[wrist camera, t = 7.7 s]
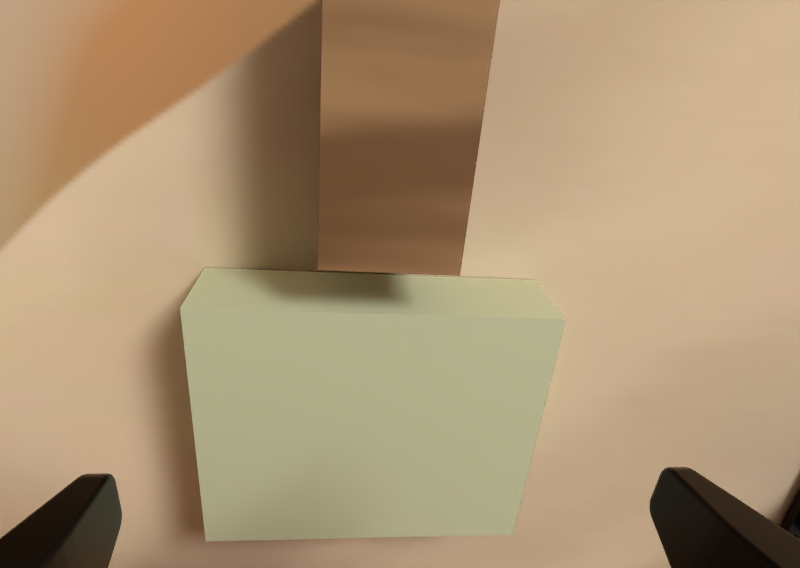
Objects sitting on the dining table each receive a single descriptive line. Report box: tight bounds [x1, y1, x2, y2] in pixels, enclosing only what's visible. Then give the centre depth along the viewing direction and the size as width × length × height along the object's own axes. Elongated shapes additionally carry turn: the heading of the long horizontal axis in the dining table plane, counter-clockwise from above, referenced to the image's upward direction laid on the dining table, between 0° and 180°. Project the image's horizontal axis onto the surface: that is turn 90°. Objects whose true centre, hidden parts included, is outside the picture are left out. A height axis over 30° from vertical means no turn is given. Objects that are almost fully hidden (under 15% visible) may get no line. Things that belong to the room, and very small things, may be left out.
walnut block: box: [317, 0, 500, 276], centre depth 14 cm, size 4×4×9 cm
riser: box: [180, 268, 566, 542], centre depth 20 cm, size 10×12×3 cm
